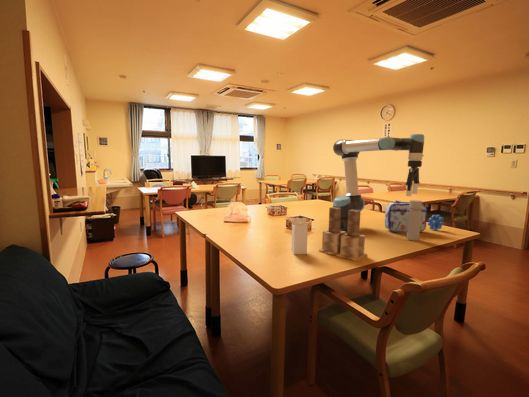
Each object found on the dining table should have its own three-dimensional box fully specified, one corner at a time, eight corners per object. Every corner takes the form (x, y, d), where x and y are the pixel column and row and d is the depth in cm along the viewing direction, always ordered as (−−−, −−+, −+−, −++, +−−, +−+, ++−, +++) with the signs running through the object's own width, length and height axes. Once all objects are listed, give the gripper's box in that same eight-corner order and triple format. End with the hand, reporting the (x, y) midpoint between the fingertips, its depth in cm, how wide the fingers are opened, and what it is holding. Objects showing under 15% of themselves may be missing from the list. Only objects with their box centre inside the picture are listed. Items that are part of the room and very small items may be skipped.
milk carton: (291, 250, 158) (292, 216, 155) (304, 250, 159) (304, 216, 156) (293, 254, 151) (294, 219, 148) (306, 254, 152) (308, 219, 149)
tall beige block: (418, 238, 183) (421, 200, 180) (420, 241, 176) (423, 202, 172) (402, 237, 186) (405, 199, 183) (403, 240, 179) (407, 201, 175)
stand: (319, 251, 157) (319, 231, 155) (330, 246, 166) (330, 228, 164) (356, 261, 142) (358, 240, 140) (366, 255, 151) (368, 235, 149)
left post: (327, 248, 157) (328, 207, 154) (331, 246, 161) (333, 206, 157) (335, 250, 154) (337, 209, 151) (339, 248, 157) (341, 207, 154)
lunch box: (386, 233, 196) (388, 201, 193) (381, 229, 206) (383, 199, 203) (427, 233, 195) (429, 202, 192) (419, 230, 206) (422, 199, 203)
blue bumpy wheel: (446, 231, 201) (448, 215, 199) (440, 232, 198) (442, 215, 196) (431, 228, 211) (433, 212, 210) (425, 228, 209) (426, 212, 207)
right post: (345, 253, 150) (347, 210, 147) (349, 251, 153) (352, 209, 150) (354, 255, 147) (356, 211, 143) (358, 253, 150) (361, 210, 147)
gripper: (416, 160, 161) (413, 197, 164) (426, 160, 179) (423, 193, 183) (402, 160, 165) (399, 196, 169) (413, 160, 184) (410, 192, 187)
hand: (411, 194), depth 176 cm, fingers open, 13 cm apart
